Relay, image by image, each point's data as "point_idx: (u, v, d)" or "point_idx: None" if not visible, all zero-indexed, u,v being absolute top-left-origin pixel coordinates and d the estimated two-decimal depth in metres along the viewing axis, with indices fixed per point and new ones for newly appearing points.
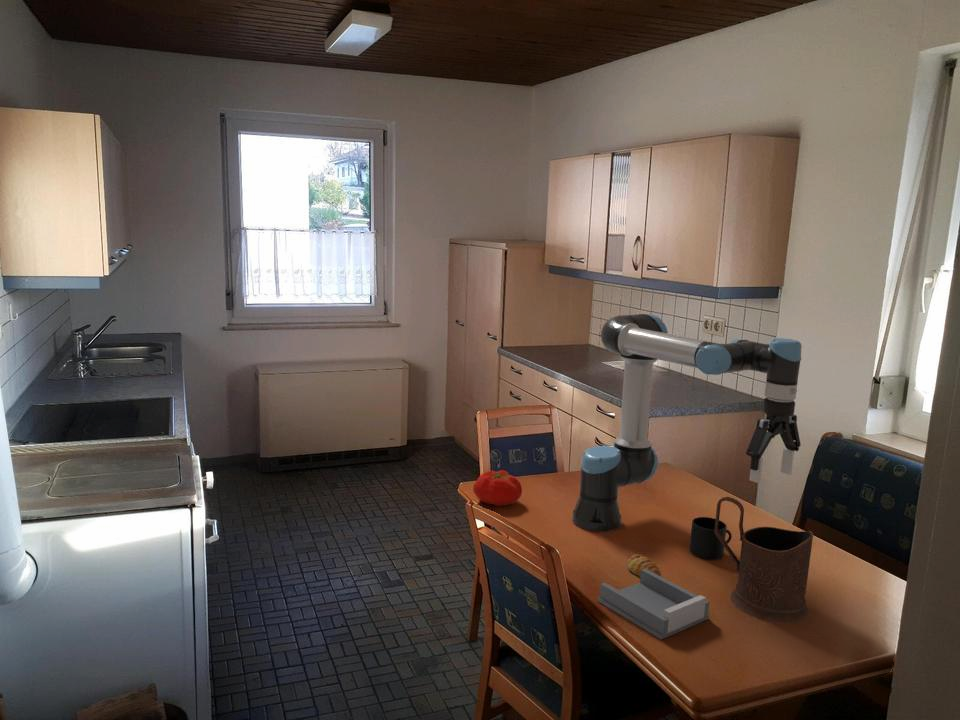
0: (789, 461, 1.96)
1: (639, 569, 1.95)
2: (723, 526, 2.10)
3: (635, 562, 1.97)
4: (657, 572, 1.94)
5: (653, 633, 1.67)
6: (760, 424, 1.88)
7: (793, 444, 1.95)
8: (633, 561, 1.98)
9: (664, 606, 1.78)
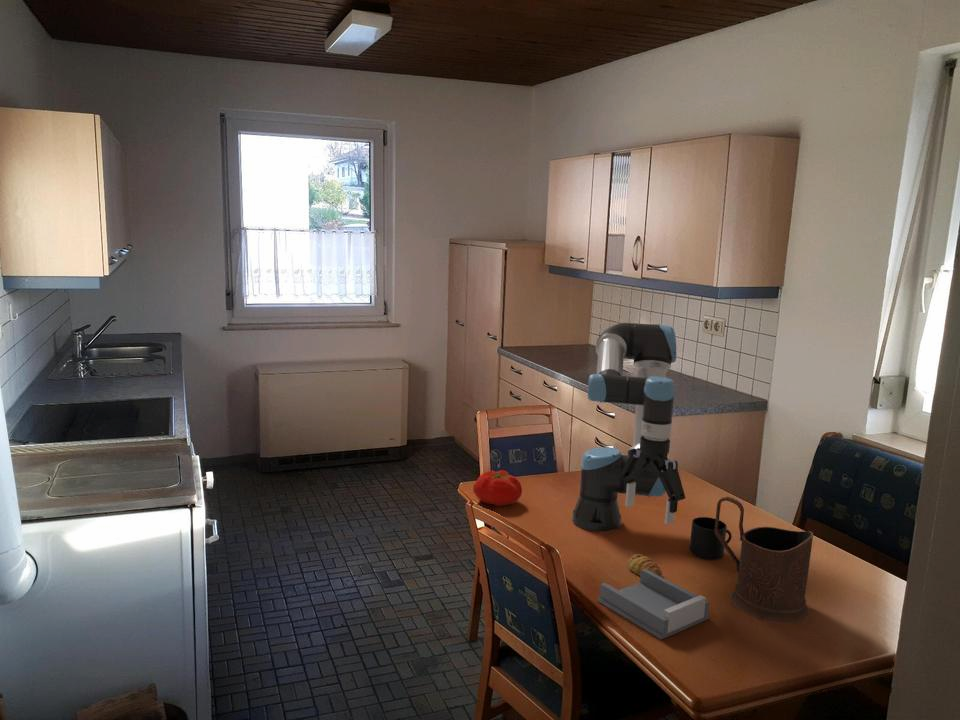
0: None
1: (640, 569, 1.96)
2: (723, 526, 2.10)
3: (636, 562, 1.98)
4: (658, 572, 1.94)
5: (653, 633, 1.67)
6: None
7: (668, 493, 1.88)
8: (634, 561, 1.98)
9: (664, 606, 1.78)
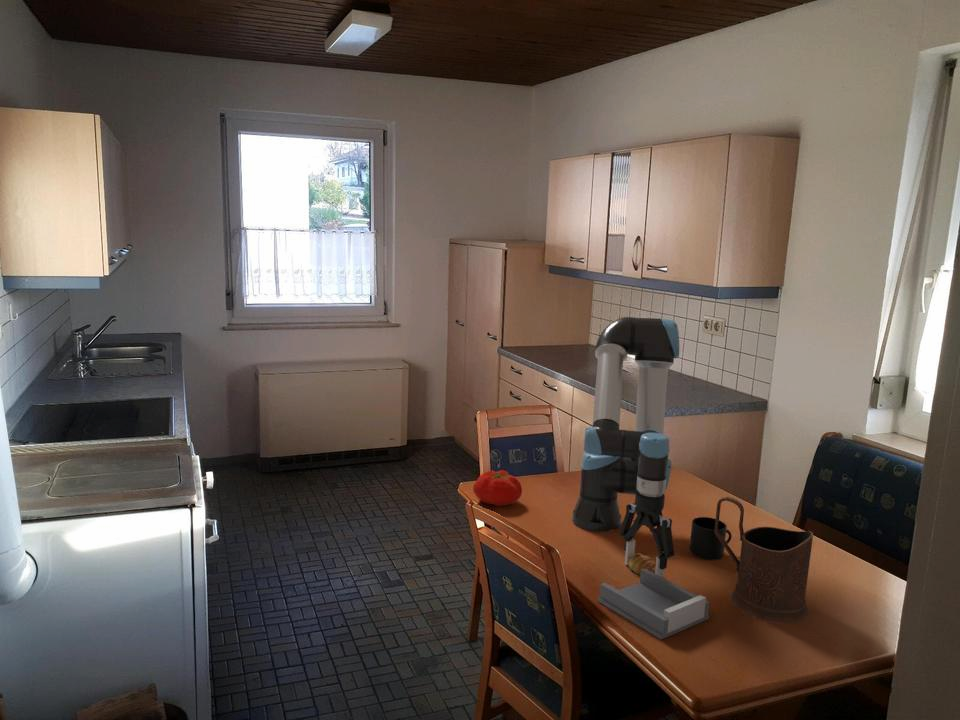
0: None
1: (640, 568, 1.96)
2: (723, 526, 2.10)
3: (636, 561, 1.98)
4: None
5: (653, 633, 1.67)
6: None
7: (659, 549, 1.91)
8: (634, 560, 1.99)
9: (664, 606, 1.78)
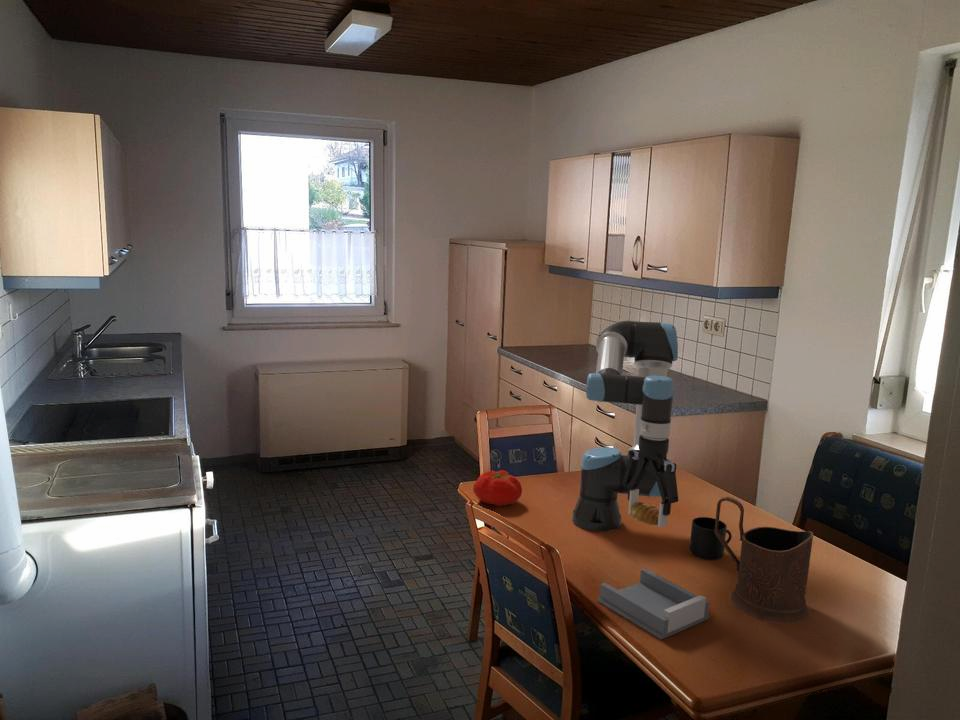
0: None
1: (644, 515, 1.91)
2: (723, 526, 2.10)
3: (639, 509, 1.93)
4: None
5: (653, 633, 1.67)
6: None
7: (662, 495, 1.86)
8: (637, 508, 1.93)
9: (664, 606, 1.78)
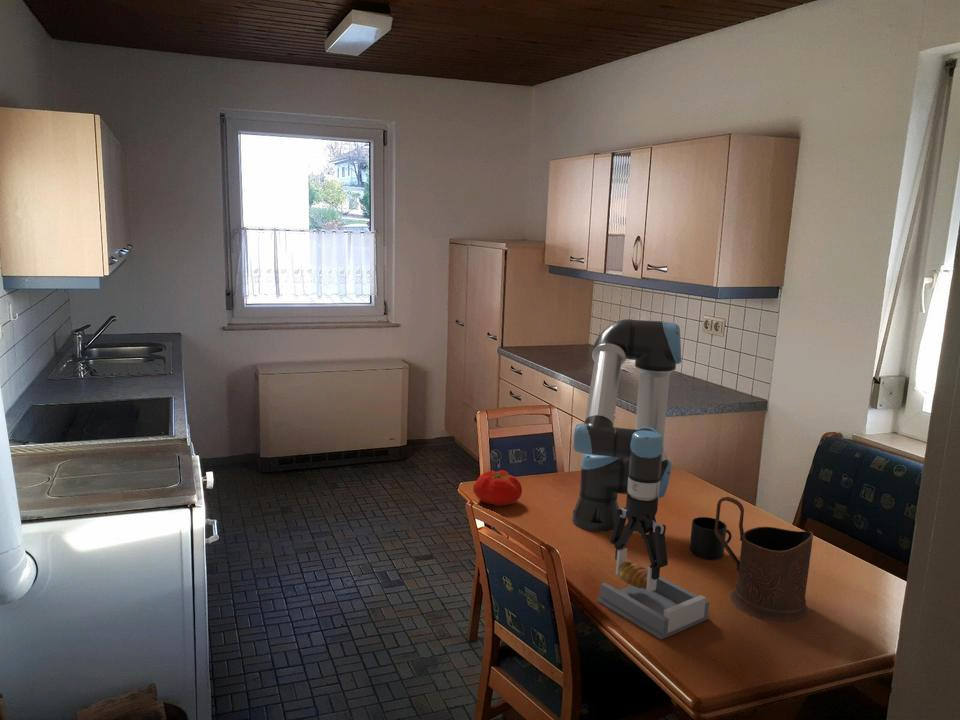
0: None
1: (632, 577, 1.80)
2: (723, 526, 2.10)
3: (627, 570, 1.82)
4: None
5: (653, 633, 1.67)
6: None
7: (651, 558, 1.76)
8: (625, 569, 1.83)
9: (664, 606, 1.78)
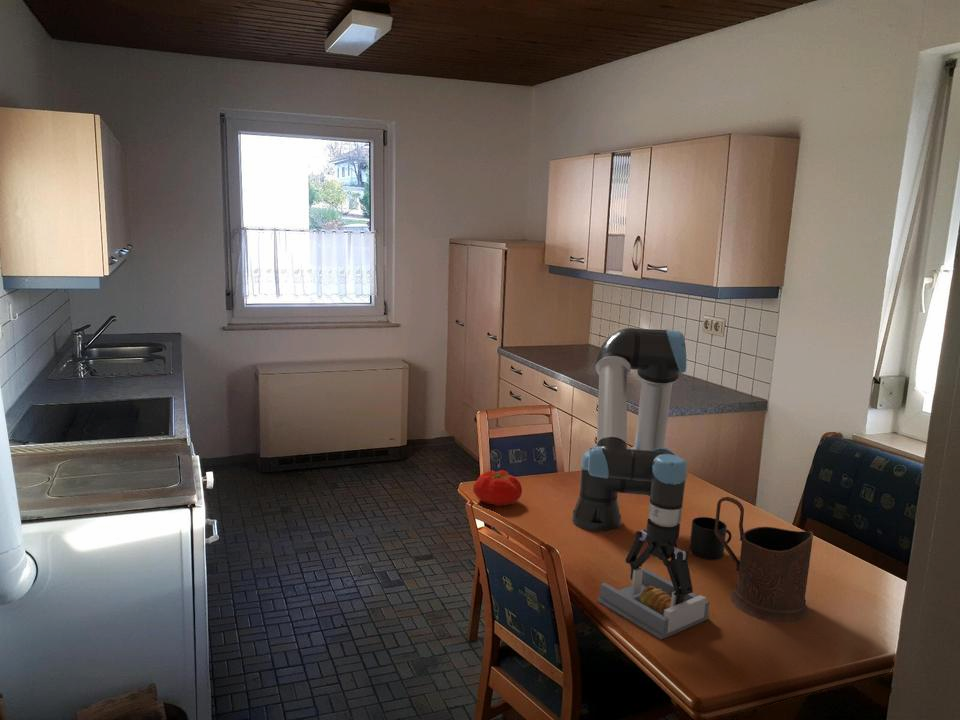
0: None
1: (654, 603, 1.75)
2: (723, 526, 2.10)
3: (649, 595, 1.77)
4: None
5: (653, 633, 1.67)
6: None
7: (675, 585, 1.71)
8: (647, 594, 1.78)
9: None
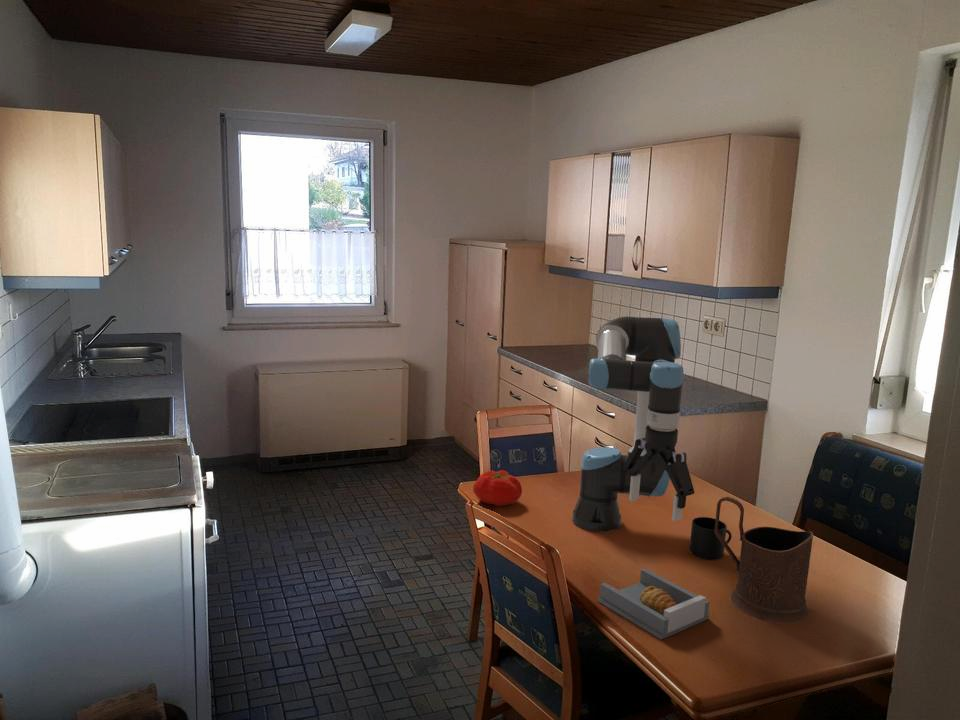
0: None
1: (654, 603, 1.75)
2: (723, 526, 2.10)
3: (649, 595, 1.77)
4: None
5: (653, 633, 1.67)
6: None
7: (676, 487, 1.73)
8: (647, 594, 1.78)
9: None
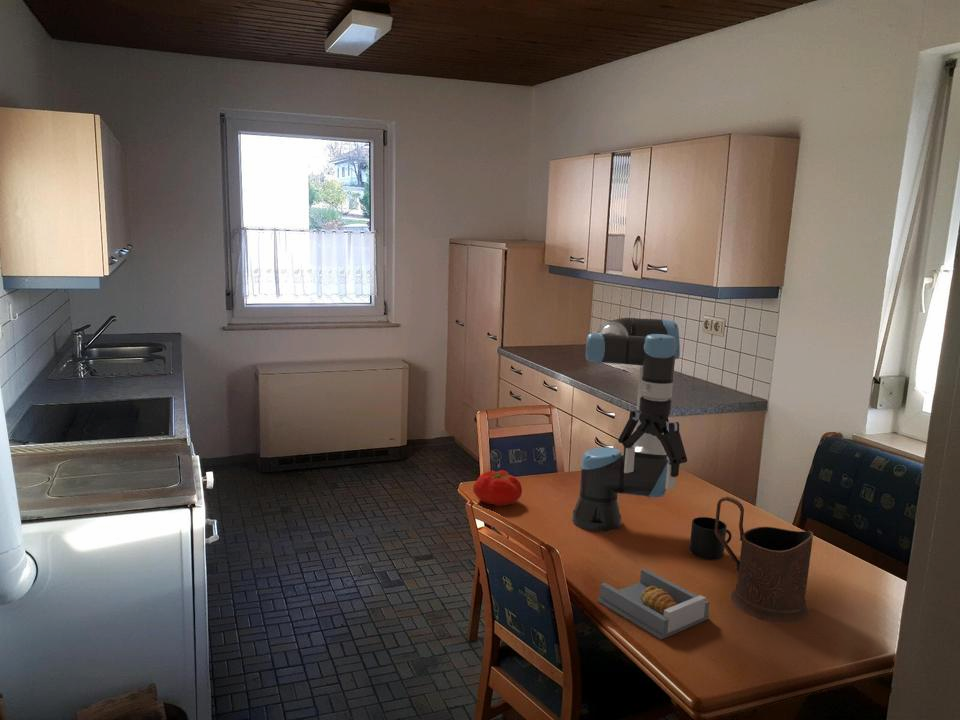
0: None
1: (655, 603, 1.75)
2: (723, 526, 2.10)
3: (650, 595, 1.77)
4: None
5: (653, 633, 1.67)
6: None
7: (669, 456, 1.77)
8: (647, 594, 1.78)
9: None
